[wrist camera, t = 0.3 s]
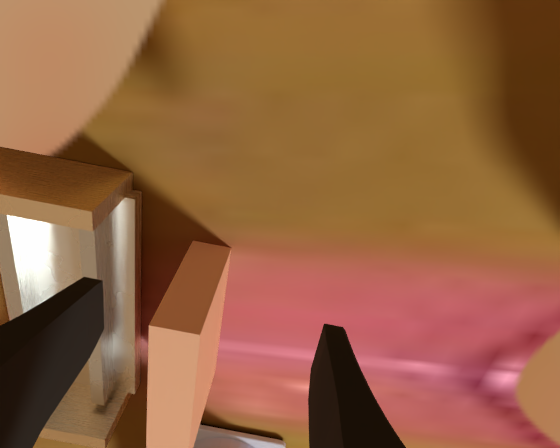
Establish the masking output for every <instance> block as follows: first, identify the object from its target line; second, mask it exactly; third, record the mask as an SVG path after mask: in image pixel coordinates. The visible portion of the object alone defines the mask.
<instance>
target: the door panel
mask: <svg viewBox="0 0 560 448" xmlns="http://www.w3.org/2000/svg"><path fill="white" fill-rule="evenodd" d="M230 255H231V248H229V247H224V246H219V245H214V244H209V243H203V242H198V241H192V243H191V245H190V247H189V249H188V251H187V253H186V255H185V256H184V258H183V260H182V262H181V264H180V266H179V268H178V270H177V272H176V274H175V276H174V278H173V280H172V282H171V283H170V285H169V287H168V289H167V291H166V293H165V295H164V297H163V299H162V301H161V303H160V305H159V307H158V309H157V310H156V312H155V314H154V316H153V318H152V320H151V322H150V324H149V339H148V386H147V433H146V448H193V447H194V443H195V440H196V436H197V433H198V429H199V426H200V422H201V419H202V415H203V412H204V408H205V405H206V401H207V398H208V394H209V391H210V387H211V384H212V380H213V377H214V373H215V368H216V361H217V353H218V346H219V338H220V330H221V323H222V315H223V308H224V300H225V293H226V285H227V277H228V270H229V262H230Z"/></svg>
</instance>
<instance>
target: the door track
mask: <svg viewBox="0 0 560 448" xmlns="http://www.w3.org/2000/svg"><path fill="white" fill-rule="evenodd" d="M141 246H142V191H138V190H133V172H129V171H124V170H119V169H113V168H108V167H103V166H98V165H93V164H87V163H82V162H77V161H72V160H67V159H61V158H56V157H51V156H46V155H40V154H35V153H30V152H25V151H19V150H14V149H9V148H3V147H0V273H1V278H2V283H3V289H4V294H5V299H6V304H7V310H8V315H9V320H12V319H14V318H16V317H18V316H20V315H21V314H23V313H25V312H27V311H28V310H30V309H32V308H33V307H35V306H37V305H38V304H40V303H42V302H44V301H45V300H47V299H48V298H50V297H52V296H53V295H55V294H57V293H58V292H60V291H61V290H63V289H65V288H66V287H68V286H70V285H71V284H73V283H74V282H76V281H78V280H79V279H81V278H83V277H88V278H93V279H98V280H103V302H104V330H103V332H102V334H101V337H100V339H99V341H98V343H97V345H96V347H95V349H94V351H93V353H92V355H91V356H90V358H89V360H88V361H87V363H86V364H85V366H84V367H83V369H82V370H81V372H80V373H79V375H78V376H77V378H76V379H75V381H74V382H73V384H72V385H71V387H70V388H69V390H68V391H67V393H66V394H65V396H64V397H63V399H62V400H61V402H60V403H59V405H58V406H57V408H56V409H55V411H54V412H53V414H52V415H51V416H50V418H49V420H48V421H47V423H46V425H45V426H44V428H43V429H42V431H41V433H40V435H39V436H38V437H42V438H47V439H52V440H57V441H62V442H68V443H73V444H78V445H83V446H88V447H94V448H106V447H107V445H108V443H109V441H110V439H111V436H112V434H113V432H114V430H115V428H116V426H117V424H118V422H119V420H120V418H121V415H122V413H123V411H124V409H125V407H126V405H127V403H128V401H129V399H130V396H131V394H135V393H136V390H137V388H138V386H139V384H140V358H141Z"/></svg>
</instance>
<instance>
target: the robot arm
mask: <svg viewBox="0 0 560 448" xmlns="http://www.w3.org/2000/svg"><path fill="white" fill-rule="evenodd" d="M103 330H104V302H103V280H98V279H93V278H88V277H83V278H81V279H79V280H78V281H76V282H74V283H73V284H71V285H70V286H68V287H66V288H65V289H63V290H61V291H60V292H58V293H57V294H55V295H53V296H52V297H50V298H48V299H47V300H45V301H44V302H42V303H40V304H38V305H37V306H35V307H33V308H32V309H30V310H28V311H27V312H25V313H23V314H21V315H20V316H18V317H16V318H14V319H12V320H10V321H8V322H7V323H5V324H3V325H1V326H0V448H33V446H34V444H35V442H36V440H37V438H38V436H39V435H40V433H41V431H42V429H43V428H44V426H45V425H46V423H47V421H48V420H49V418H50V416H51V415H52V414H53V412H54V411H55V409H56V408H57V406H58V405H59V403H60V402H61V400H62V399H63V397H64V396H65V394H66V393H67V391H68V390H69V388H70V387H71V385H72V384H73V382H74V381H75V379H76V378H77V376H78V375H79V373H80V372H81V370H82V369H83V367H84V366H85V364H86V363H87V361H88V360H89V358H90V356H91V355H92V353H93V351H94V349H95V347H96V345H97V343H98V341H99V339H100V337H101V334H102V332H103ZM308 404H309V446H310V448H406V447H405V446H404V444H403V443H402V441H401V440H400V438H399V437H398V435H397V434H396V432H395V431H394V429H393V428H392V426H391V425H390V423H389V422H388V420H387V418H386V417H385V415H384V413H383V411H382V410H381V408H380V406H379V404H378V403H377V401H376V399H375V397H374V395H373V393H372V391H371V390H370V388H369V386H368V384H367V381H366V379H365V377H364V375H363V373H362V371H361V369H360V367H359V364H358V362H357V360H356V357H355V355H354V353H353V350H352V348H351V345H350V342H349V340H348V337H347V334H346V331H345V330H344V328H343V327H339V326H334V325H329V324H324V326H323V329H322V333H321V336H320V340H319V343H318V347H317V350H316V353H315V357H314V360H313V364H312V367H311V375H310V386H309V398H308ZM285 447H286V444H285V442H284V441H282V440H278V439H273V438H268V437H262V436H257V435H252V434H247V433H242V432H236V431H231V430H226V429H221V428H216V427H210V426H205V425H200V426H199V429H198V433H197V436H196V440H195V443H194V447H193V448H285Z"/></svg>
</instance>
